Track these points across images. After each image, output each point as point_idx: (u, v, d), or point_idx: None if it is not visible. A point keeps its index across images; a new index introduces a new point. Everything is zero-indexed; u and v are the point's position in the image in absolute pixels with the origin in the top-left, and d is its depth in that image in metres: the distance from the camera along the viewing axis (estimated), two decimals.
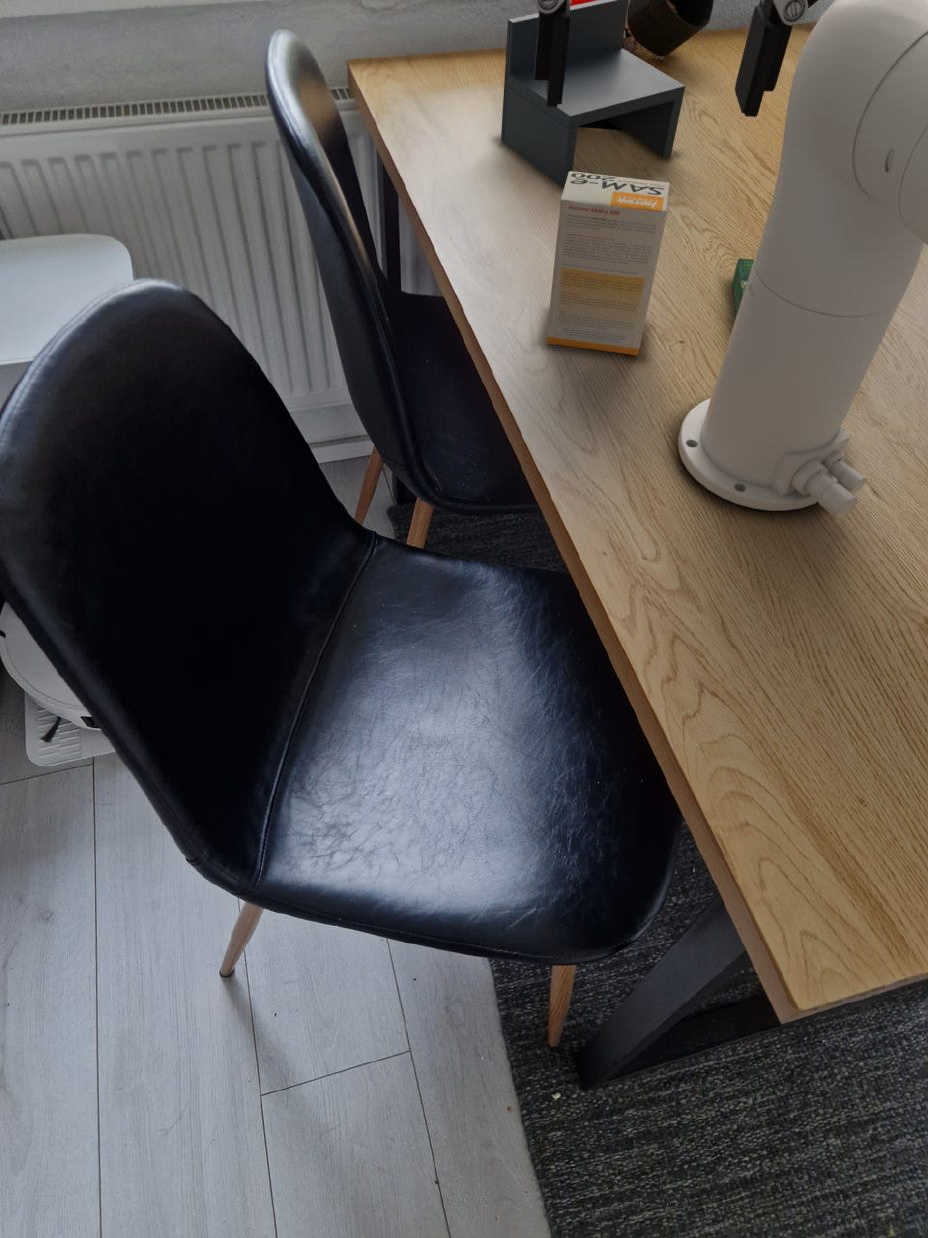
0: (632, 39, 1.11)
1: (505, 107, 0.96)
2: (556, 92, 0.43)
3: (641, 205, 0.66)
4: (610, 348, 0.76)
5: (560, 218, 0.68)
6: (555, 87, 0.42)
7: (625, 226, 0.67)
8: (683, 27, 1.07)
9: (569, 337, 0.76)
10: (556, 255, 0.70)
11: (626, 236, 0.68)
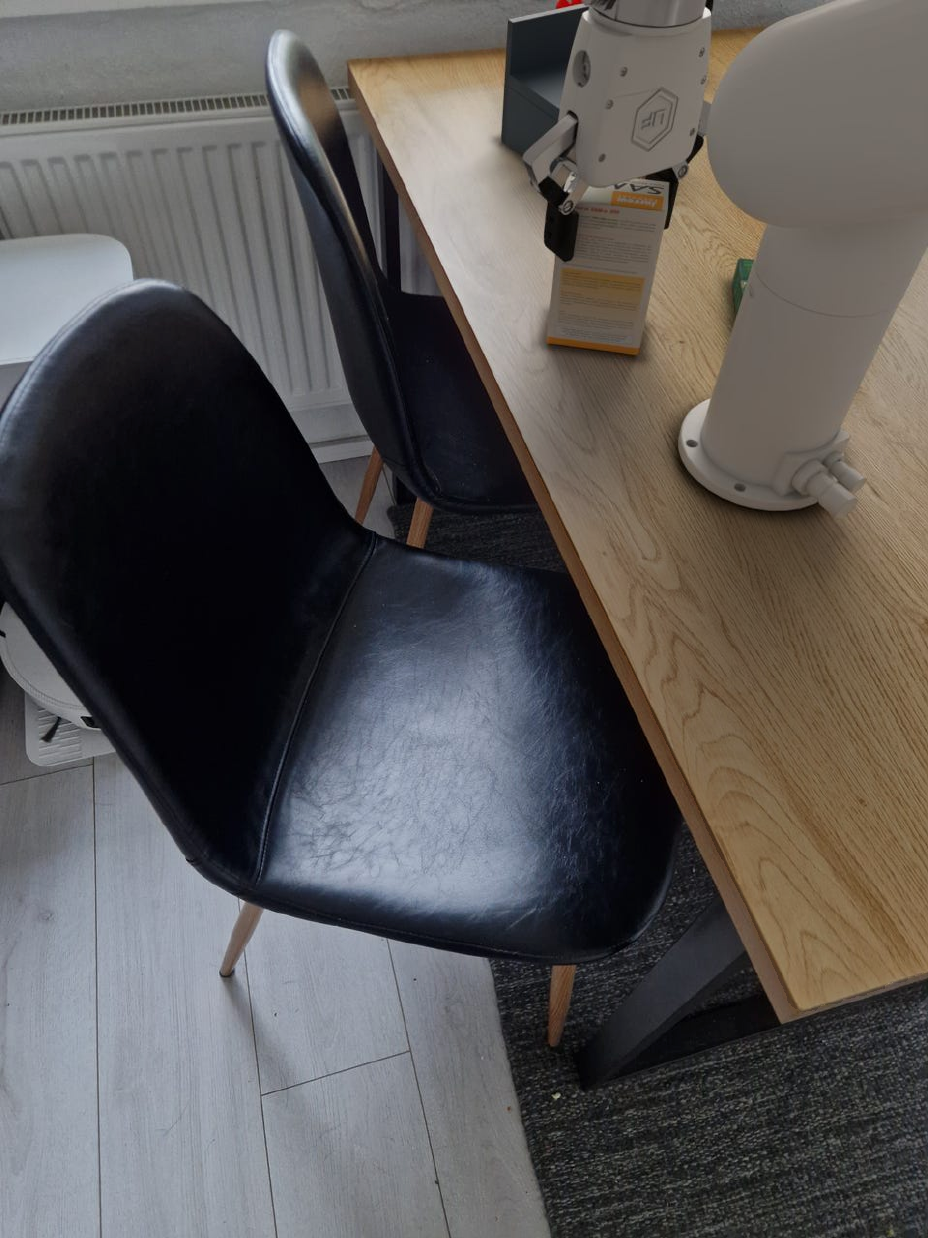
0: None
1: (505, 107, 0.96)
2: (571, 253, 0.68)
3: (641, 204, 0.67)
4: (610, 348, 0.76)
5: None
6: (571, 251, 0.68)
7: (625, 225, 0.67)
8: None
9: (569, 337, 0.76)
10: None
11: (625, 235, 0.68)
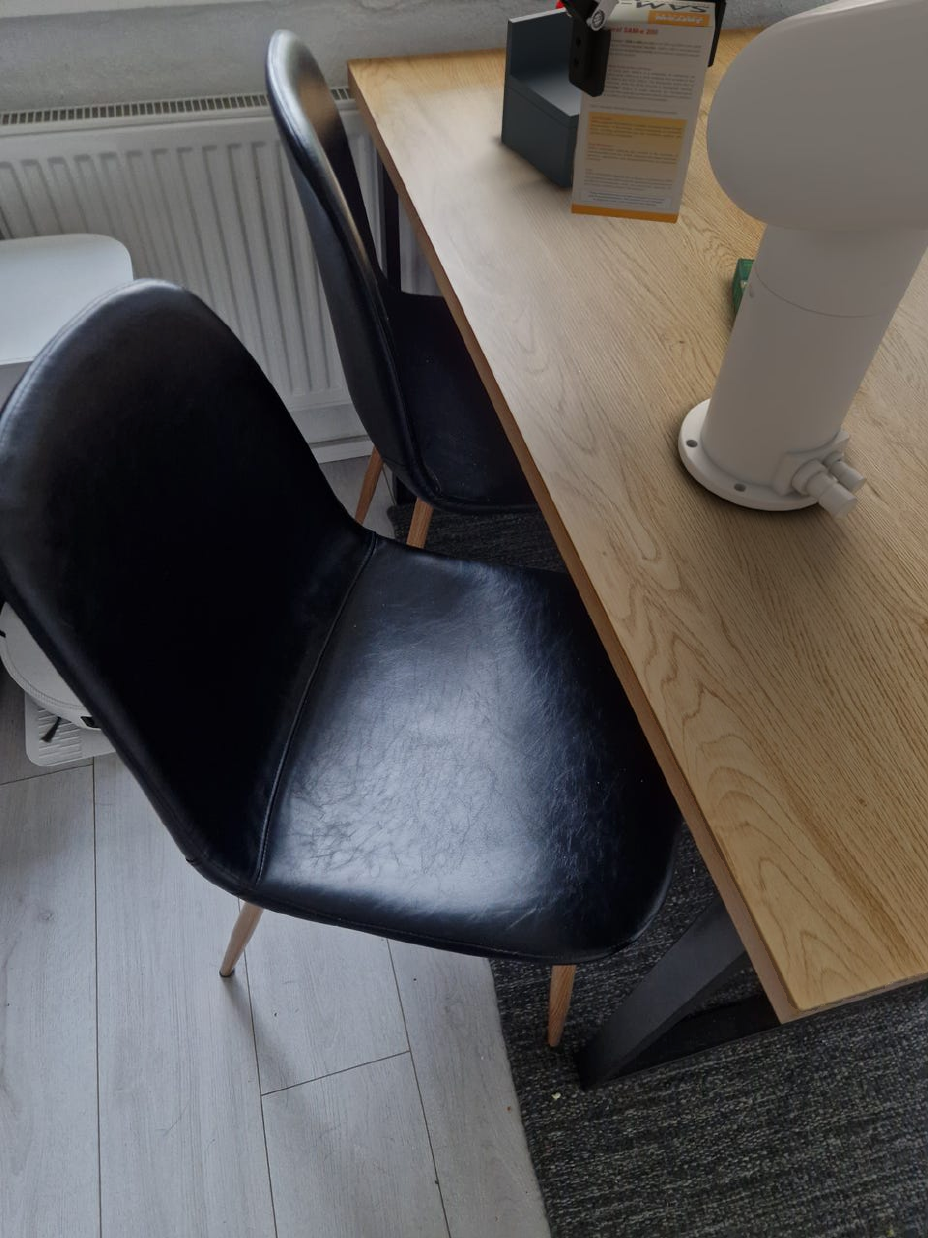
0: None
1: (505, 107, 0.96)
2: (602, 84, 0.58)
3: (684, 21, 0.56)
4: (645, 215, 0.66)
5: None
6: (601, 81, 0.58)
7: (665, 50, 0.57)
8: None
9: (597, 203, 0.66)
10: (582, 94, 0.60)
11: (665, 63, 0.58)
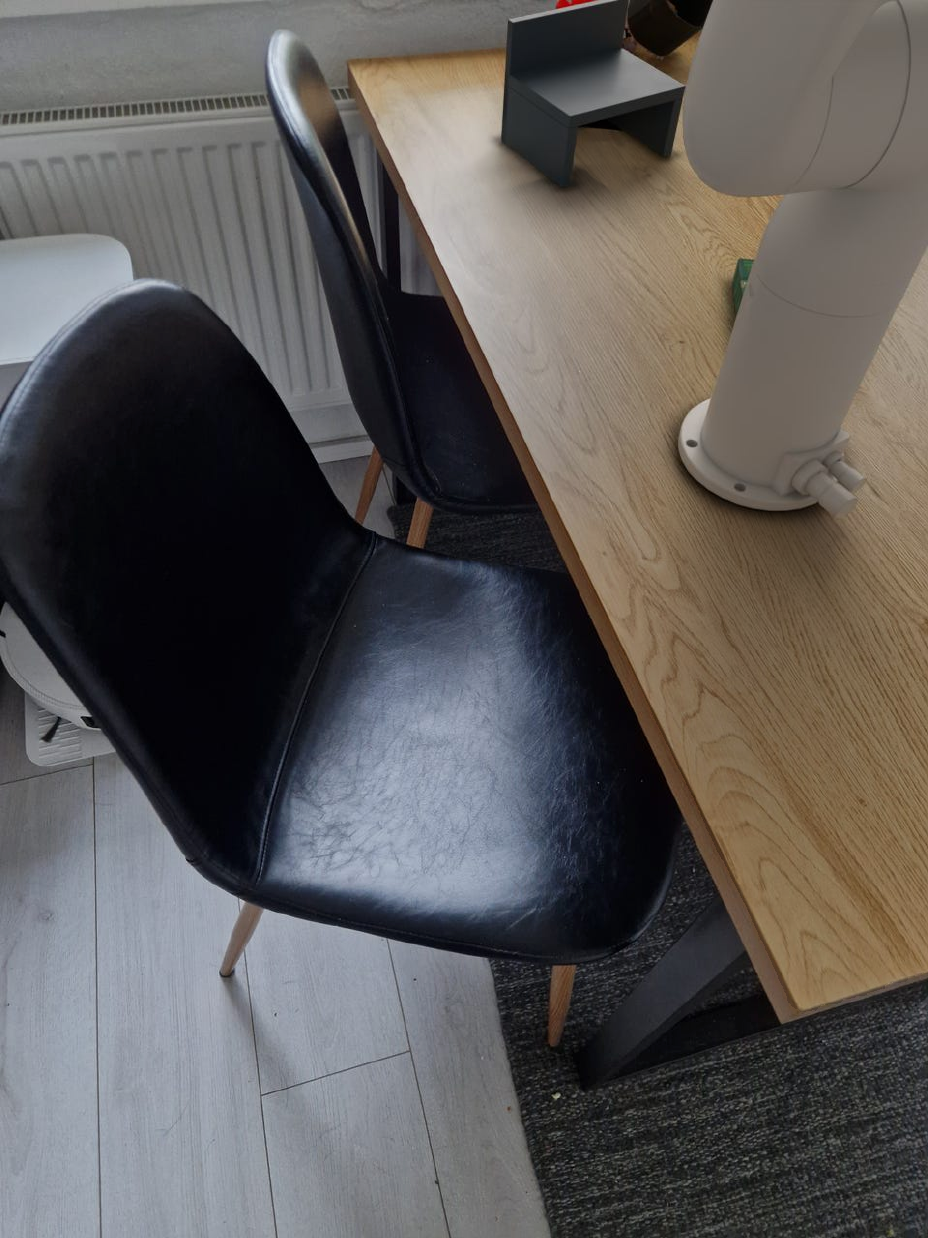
0: (632, 39, 1.11)
1: (505, 107, 0.96)
2: None
3: None
4: None
5: None
6: None
7: None
8: (683, 27, 1.07)
9: None
10: None
11: None
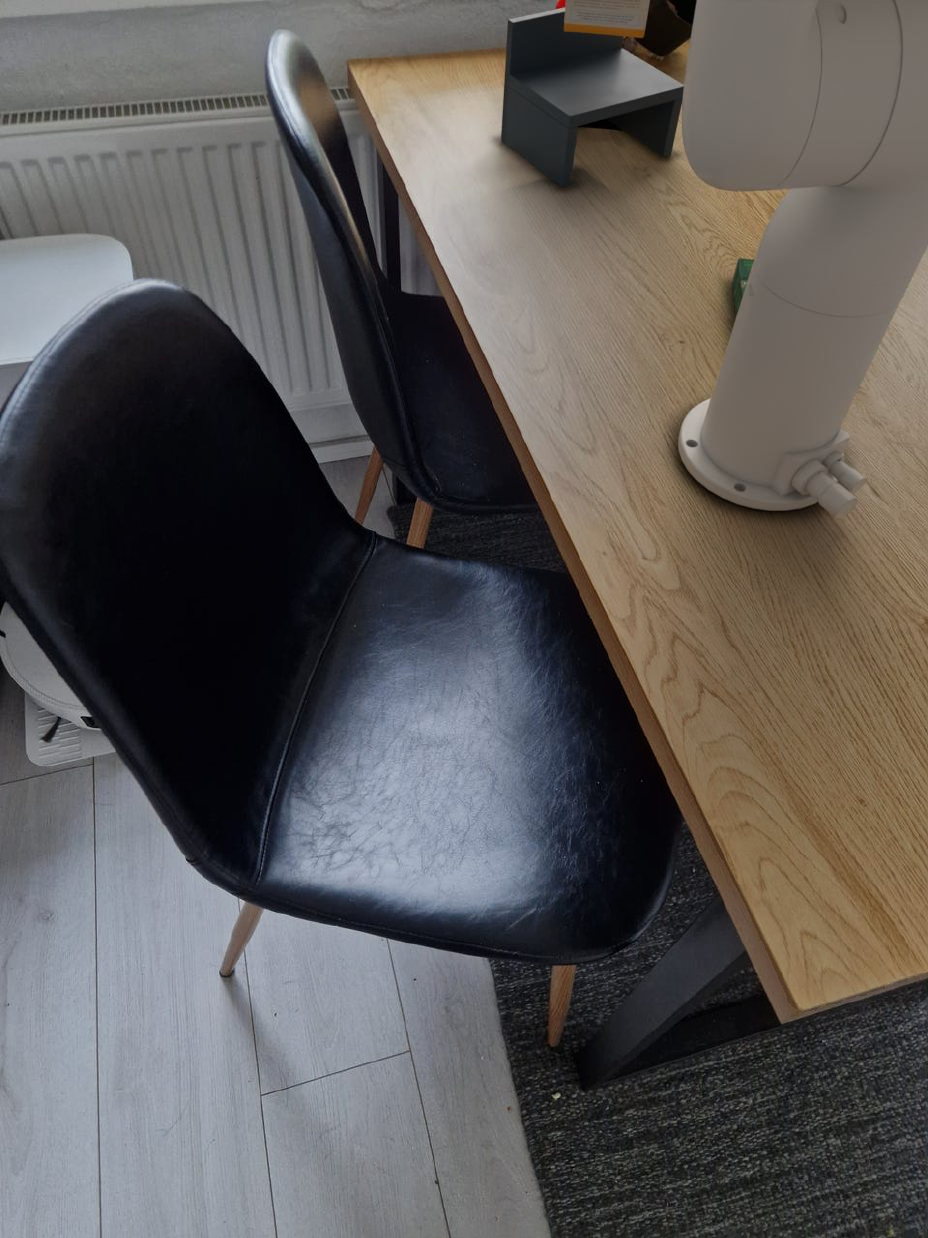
0: (632, 39, 1.11)
1: (505, 107, 0.96)
2: None
3: None
4: (619, 31, 0.87)
5: None
6: None
7: None
8: (683, 27, 1.07)
9: (583, 22, 0.87)
10: None
11: None
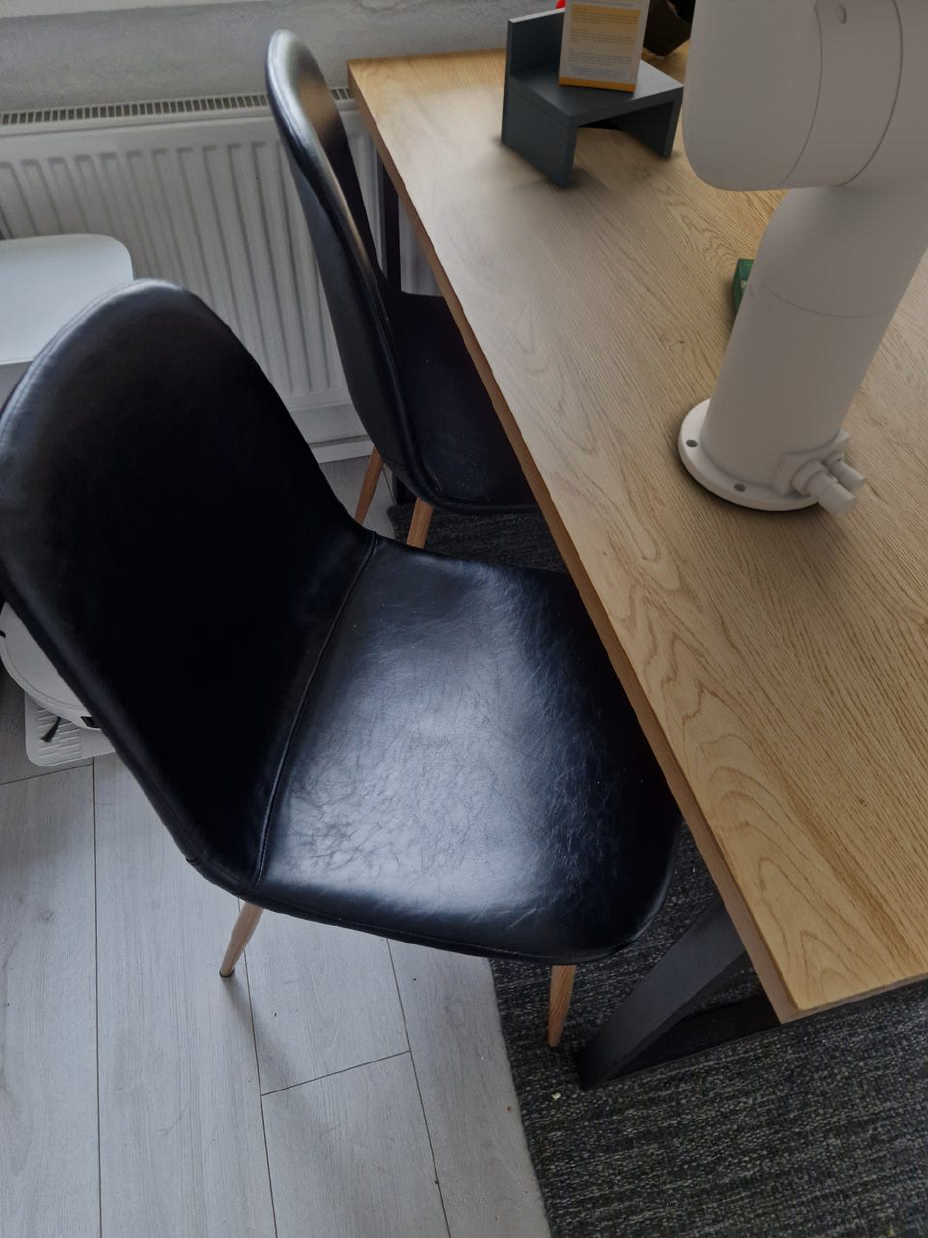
0: None
1: (505, 107, 0.96)
2: None
3: None
4: (612, 85, 0.91)
5: None
6: None
7: None
8: (683, 27, 1.07)
9: (577, 76, 0.91)
10: None
11: None
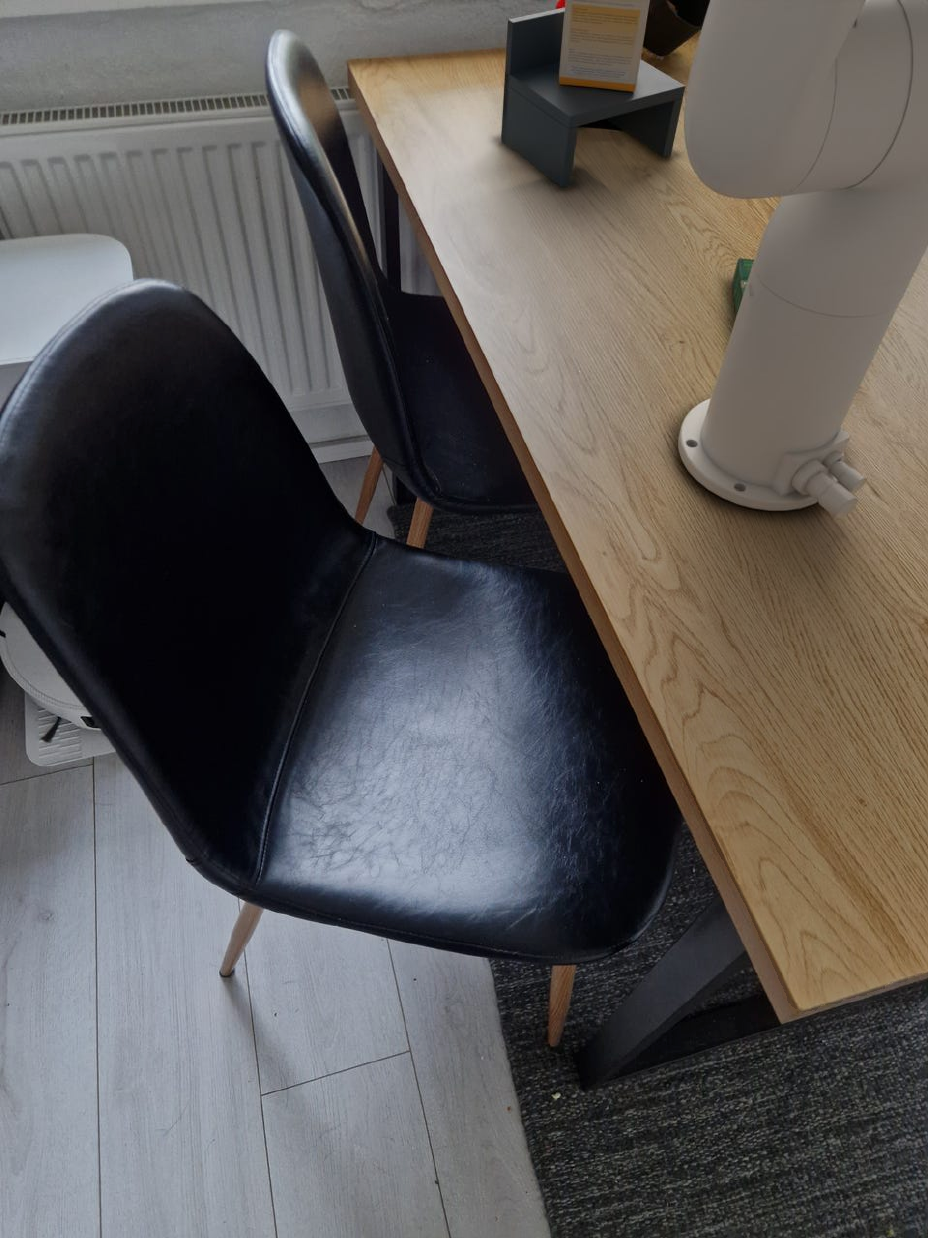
0: None
1: (505, 107, 0.96)
2: None
3: None
4: (612, 85, 0.91)
5: None
6: None
7: None
8: (683, 27, 1.07)
9: (577, 76, 0.91)
10: None
11: None
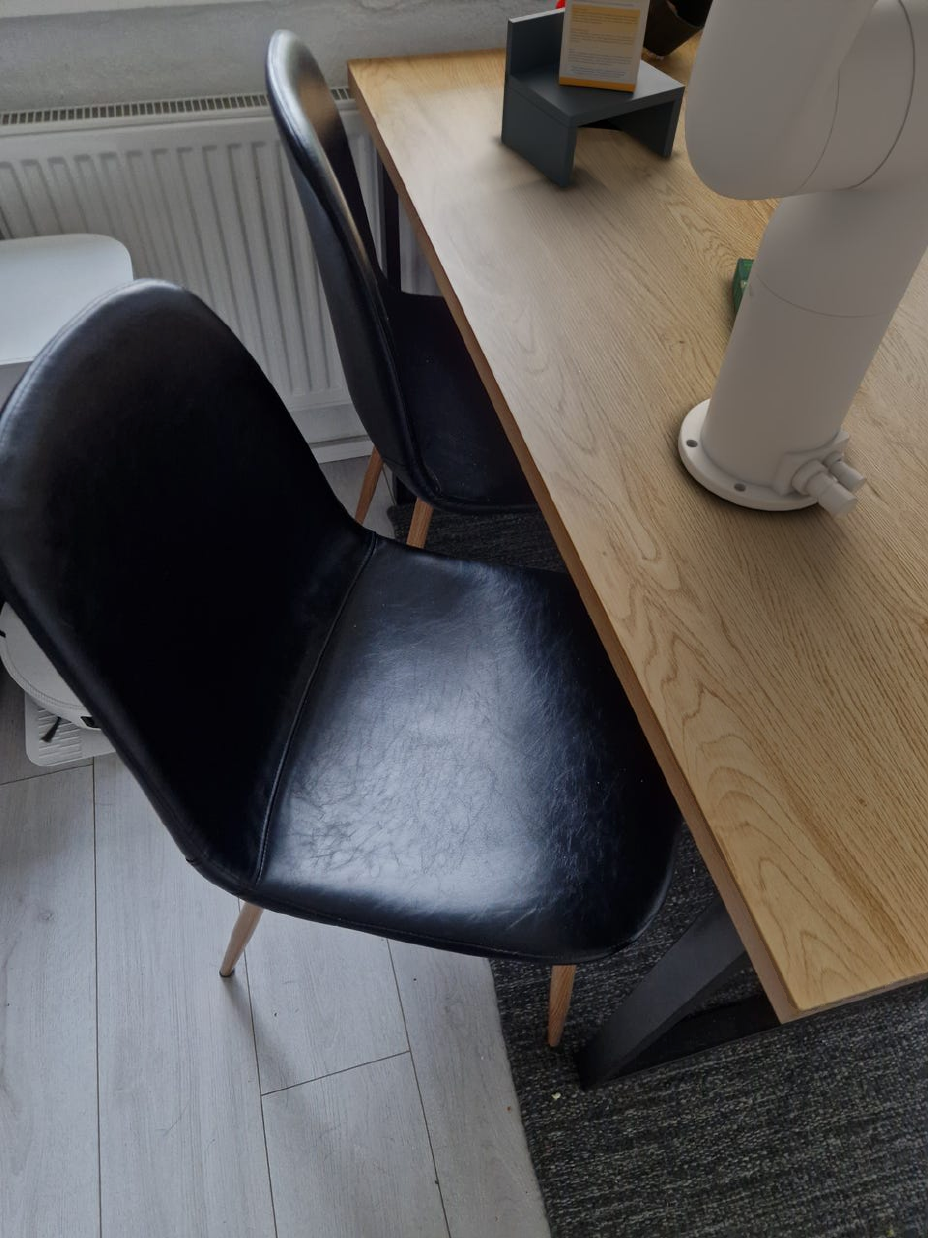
0: None
1: (505, 107, 0.96)
2: None
3: None
4: (612, 85, 0.91)
5: None
6: None
7: None
8: (683, 27, 1.07)
9: (577, 76, 0.91)
10: None
11: None
